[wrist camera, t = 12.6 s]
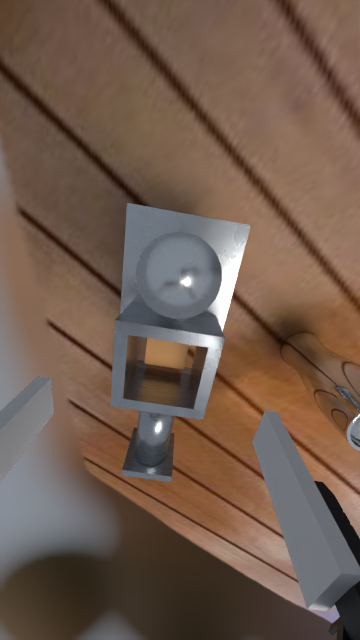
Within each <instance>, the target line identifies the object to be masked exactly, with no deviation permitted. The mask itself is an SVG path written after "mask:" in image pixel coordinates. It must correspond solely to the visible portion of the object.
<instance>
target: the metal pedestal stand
mask: <svg viewBox="0 0 360 640" xmlns="http://www.w3.org/2000/svg"><path fill="white" fill-rule="evenodd" d="M250 226H251V225H246V224H240V223H235V222H230V221H224V220H219V219H213V218H208V217H202V216H197V215H191V214H186V213H180V212H175V211H169V210H164V209H158V208H153V207H147V206H142V205H136V204H131V203H127V212H126V228H125V244H124V260H123V276H122V292H121V308H120V314H121V313H122V312H123V311H124V310H125V308H126V307H127V306H128V305H129V304H130V303H131V302H138V303H144V304H147V305H148V306H149V307H150V308H151V309H153V310H154V311H155V312H157V313H159V314H161V315H163V316H165V317H169V318H174V319H185V318H190V317H193V316H196V315H198V314H200V313H205V314H211V315H216V317H217V319H218V322H219V324H220V326H221V329H222V331H223V328H224V324H225V320H226V316H227V313H228V309H229V305H230V301H231V298H232V294H233V290H234V286H235V282H236V279H237V275H238V271H239V267H240V264H241V260H242V256H243V252H244V248H245V245H246V241H247V237H248V233H249V230H250ZM140 340H141V337H139V341H138V351H137V361H136V366H139V367H145V368H152V369H158V370H164V371H171V372H177V373H184V374H190V375H192V372H193V368H194V363H195V359H196V354H197V350H198V346H196V350H195V355H194V359H193V364H192V368H187V367H184V369H177V368H171V367H164V366H158V365H151V364H145V361H142V360H138V359H139V349H140Z"/></svg>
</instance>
